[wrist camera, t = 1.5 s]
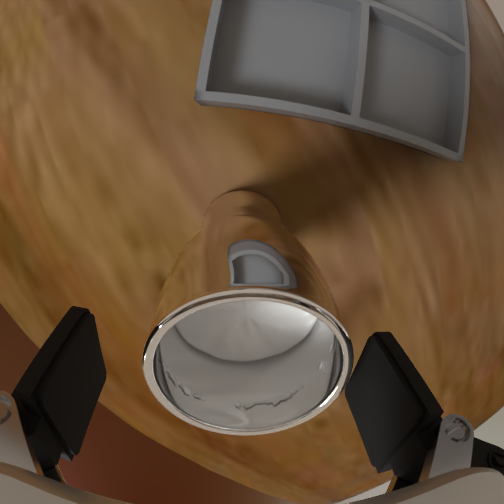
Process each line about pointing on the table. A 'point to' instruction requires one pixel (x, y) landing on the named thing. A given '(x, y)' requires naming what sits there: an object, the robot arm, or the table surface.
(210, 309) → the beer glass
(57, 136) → the table surface
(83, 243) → the table surface
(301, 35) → the gray compartment tray
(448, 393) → the table surface
